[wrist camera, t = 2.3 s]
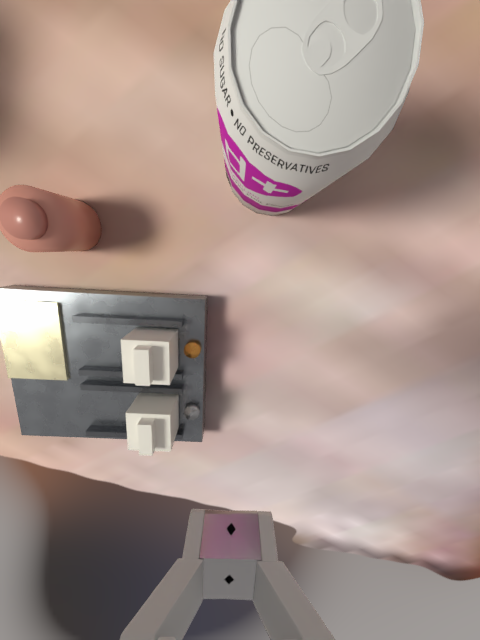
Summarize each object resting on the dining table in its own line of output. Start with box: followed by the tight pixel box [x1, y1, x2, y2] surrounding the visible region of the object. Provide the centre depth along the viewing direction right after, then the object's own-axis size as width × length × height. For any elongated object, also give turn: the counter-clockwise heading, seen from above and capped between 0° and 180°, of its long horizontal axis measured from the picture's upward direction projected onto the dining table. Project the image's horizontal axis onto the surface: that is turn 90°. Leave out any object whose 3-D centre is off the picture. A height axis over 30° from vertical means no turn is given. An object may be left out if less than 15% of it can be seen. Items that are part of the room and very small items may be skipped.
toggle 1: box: [121, 327, 178, 386], centre depth 24 cm, size 4×4×5 cm
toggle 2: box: [126, 393, 179, 456], centre depth 26 cm, size 4×4×5 cm
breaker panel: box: [0, 285, 207, 442], centre depth 27 cm, size 20×16×3 cm
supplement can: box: [214, 0, 424, 216], centre depth 17 cm, size 8×8×15 cm
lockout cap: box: [0, 185, 101, 252], centre depth 22 cm, size 5×5×7 cm
